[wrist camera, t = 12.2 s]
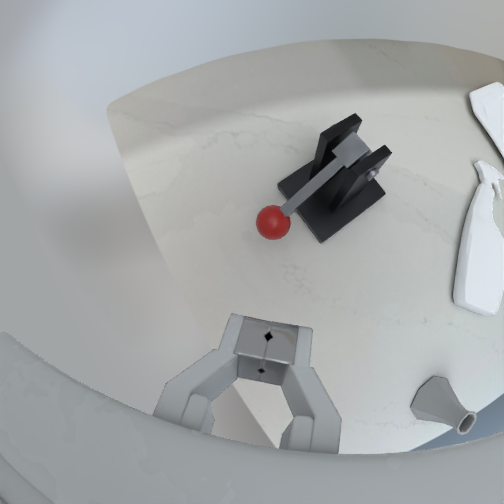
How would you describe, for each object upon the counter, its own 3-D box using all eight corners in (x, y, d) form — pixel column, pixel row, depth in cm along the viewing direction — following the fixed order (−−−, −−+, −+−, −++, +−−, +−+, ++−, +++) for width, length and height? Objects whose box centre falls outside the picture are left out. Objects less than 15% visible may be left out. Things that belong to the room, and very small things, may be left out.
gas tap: (320, 243, 33) (344, 218, 20) (277, 187, 34) (275, 135, 22) (382, 196, 33) (426, 154, 20) (340, 145, 34) (363, 87, 22)
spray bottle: (445, 301, 30) (462, 154, 33) (489, 319, 28) (502, 181, 31) (456, 302, 27) (470, 147, 30) (501, 319, 26) (512, 176, 28)
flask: (432, 367, 29) (472, 387, 19) (457, 387, 28) (495, 407, 18) (401, 409, 29) (433, 440, 19) (428, 425, 28) (460, 454, 18)
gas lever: (279, 243, 31) (263, 249, 28) (260, 217, 31) (243, 221, 28) (378, 159, 23) (374, 154, 20) (353, 132, 24) (346, 123, 21)
